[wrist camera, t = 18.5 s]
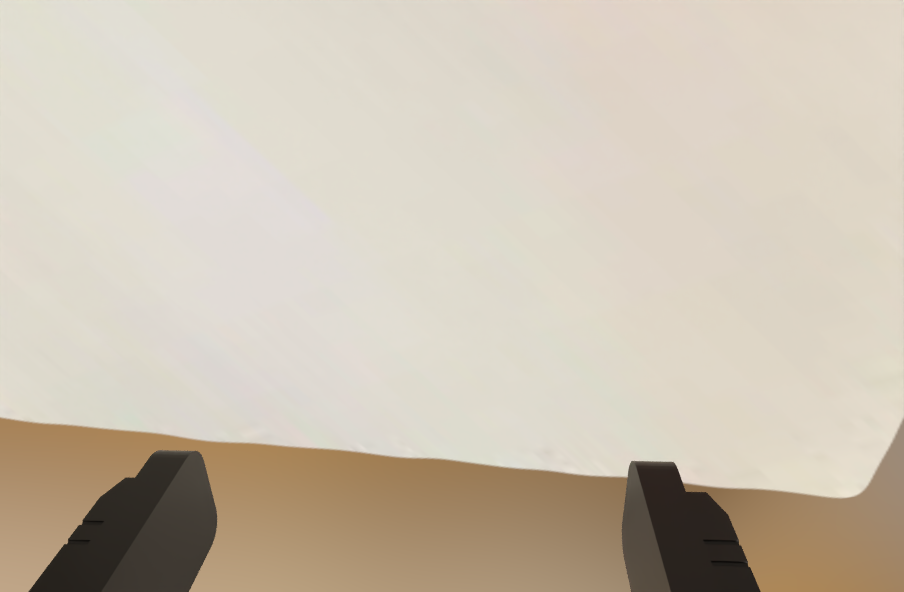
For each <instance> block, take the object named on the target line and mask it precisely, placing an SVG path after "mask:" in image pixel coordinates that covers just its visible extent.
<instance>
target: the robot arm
mask: <svg viewBox="0 0 904 592" xmlns="http://www.w3.org/2000/svg"><path fill="white" fill-rule="evenodd" d="M216 512H217V511H216V507H215V503H214V499H213V495H212V491H211V487H210V483H209V480H208V475H207V471H206V468H205V464H204V460H203V457H202V455H201V454H200V453H199V452H197V451H163V450H159V451H156V452H155V453H153V454H152V455H151V456H150V458H149V459H148V461H147V462H146V463H145V465H144V466H143V468H142V469H141V470H140V472H139V473H138V475H137V476H136V477H135V478H125V479H123V480H122V481H121V482H119V483H118V484H117V485H115V486H114V487H113V488H112V489H110V490H109V491H108V492H107V493H105V494H104V495H102V496H101V497H100V498H99V499H98V501H97V502H96V503H95V505H94V506H93V507H92V509H91V510H90V511H89V513H88V514H87V515H86V516H85V518H84V519H83V523H82V525H79V526H78V527H77V529H76V530H75V531H74V532H73V534H72V535H71V537H70V538H69V539H68V544H64V546H63V547H62V548H61V550H60V551H59V552H58V554H57V555H56V556H55V557H54V559H53V560H52V561H51V563H50V564H49V565H48V567H47V568H46V569H45V571H44V572H43V573H42V575H41V576H40V577H39V579H38V580H37V581H36V583H35V584H34V585H33V587H32V588H31V589H30V591H29V592H189V590H190V588H191V586H192V584H193V582H194V580H195V578H196V576H197V574H198V571H199V570H200V568H201V566H202V564H203V562H204V560H205V558H206V556H207V554H208V552H209V550H210V548H211V546H212V544H213V541H214V537H215V533H216V528H217V513H216ZM622 544H623V554H624V560H625V564H626V569H627V574H628V578H629V582H630V587H631V592H760V589H759V587H758V585H757V582H756V580H755V578H754V575H753V573H752V571H751V568H750V567H748V561H747V559H746V557H745V554H744V552H743V549H742V547H741V546H739V540H738V538H737V535H736V533H735V530H734V528H733V526H732V523H731V521H730V519H729V516H728V514H727V513H726V512H725V511H724V510H723V509H721V507H720V506H719V505H718V504H717V503H716V502H715V501H714V500H713V499H712V498H711V497H710V496H709V495H708V494H707V493H706V492H686V491H685V488H684V486H683V483H682V480H681V477H680V474H679V472H678V469H677V467H676V465H675V463H674V462H650V461H632V462H631V463H630V466H629V471H628V480H627V488H626V497H625V505H624V513H623V522H622Z"/></svg>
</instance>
